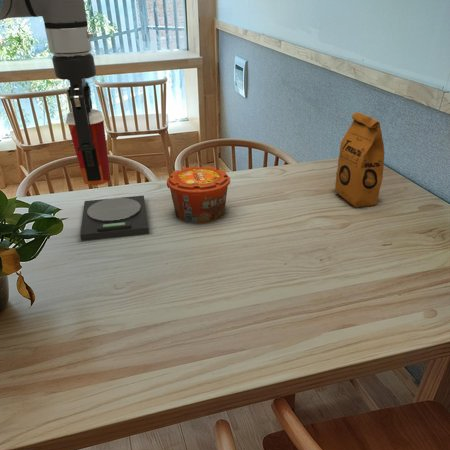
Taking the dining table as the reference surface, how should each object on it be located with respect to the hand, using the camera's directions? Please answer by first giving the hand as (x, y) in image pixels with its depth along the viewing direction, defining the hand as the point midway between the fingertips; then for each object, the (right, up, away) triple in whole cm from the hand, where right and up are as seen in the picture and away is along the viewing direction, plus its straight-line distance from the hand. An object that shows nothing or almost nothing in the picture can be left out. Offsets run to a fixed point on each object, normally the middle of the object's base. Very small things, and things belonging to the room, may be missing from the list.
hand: (95, 173), depth 97 cm
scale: (0, -7, +19) cm, 20 cm away
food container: (+22, -5, +22) cm, 31 cm away
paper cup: (0, -1, +1) cm, 2 cm away
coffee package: (+65, +1, +28) cm, 71 cm away
